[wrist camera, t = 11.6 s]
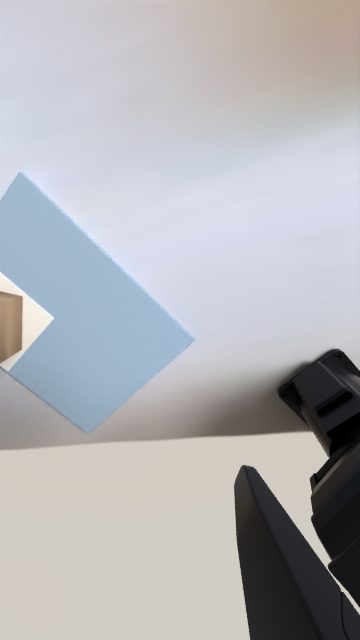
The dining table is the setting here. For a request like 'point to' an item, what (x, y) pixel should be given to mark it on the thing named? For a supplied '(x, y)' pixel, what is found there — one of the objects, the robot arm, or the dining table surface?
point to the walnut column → (10, 324)
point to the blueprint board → (77, 313)
